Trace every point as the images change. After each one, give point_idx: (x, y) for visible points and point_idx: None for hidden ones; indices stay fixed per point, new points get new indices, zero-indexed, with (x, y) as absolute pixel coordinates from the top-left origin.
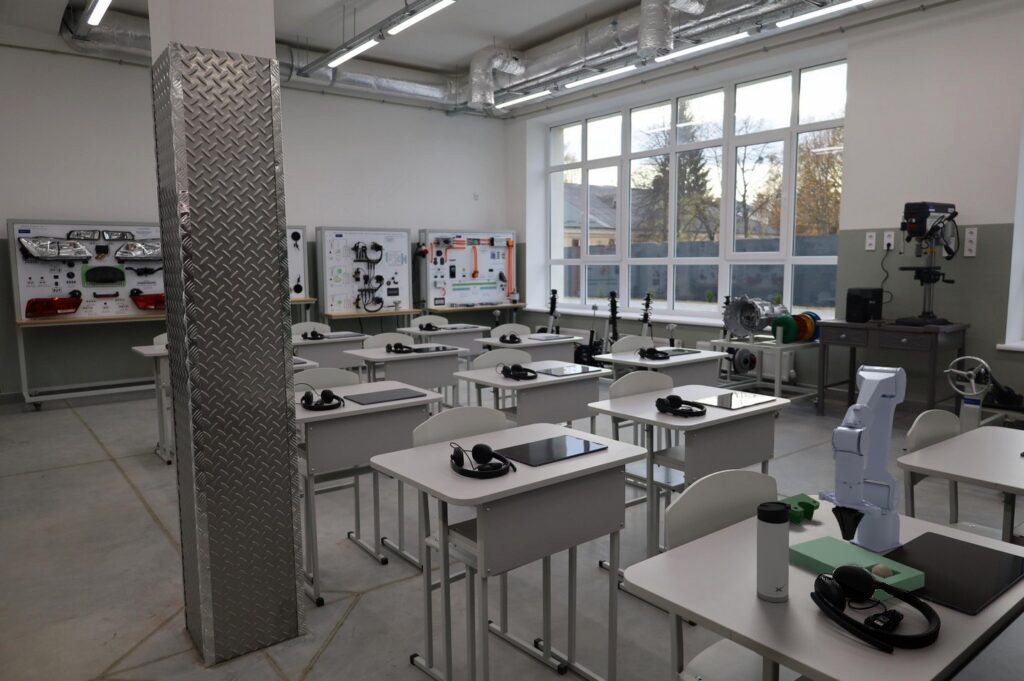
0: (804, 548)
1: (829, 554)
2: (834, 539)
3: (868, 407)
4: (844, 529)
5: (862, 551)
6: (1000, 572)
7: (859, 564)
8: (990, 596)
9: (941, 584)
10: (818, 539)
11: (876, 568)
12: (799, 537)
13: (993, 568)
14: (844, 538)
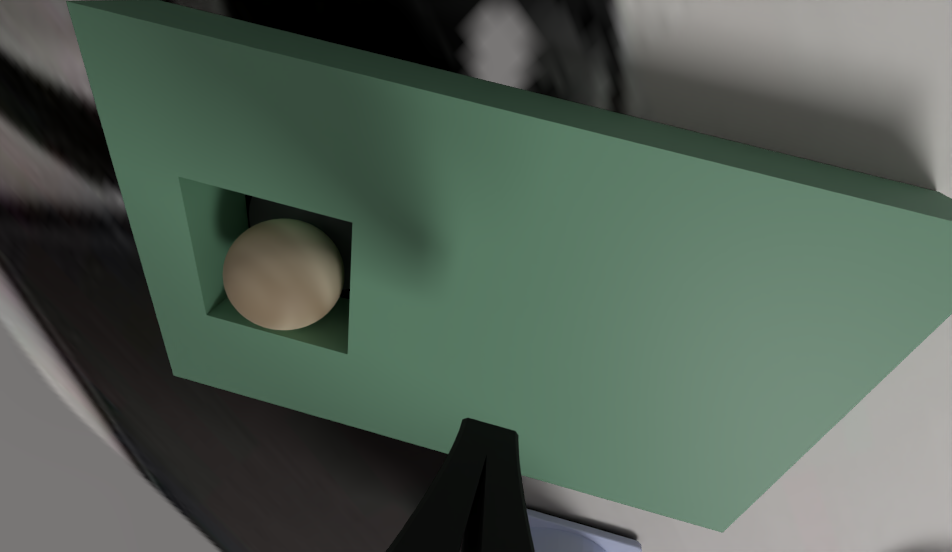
0: (835, 301)
1: (618, 311)
2: (675, 506)
3: None
4: (465, 517)
5: None
6: (213, 520)
7: (396, 281)
8: (92, 380)
9: None
10: (766, 474)
11: (271, 264)
12: (890, 506)
13: (238, 532)
14: (495, 434)
